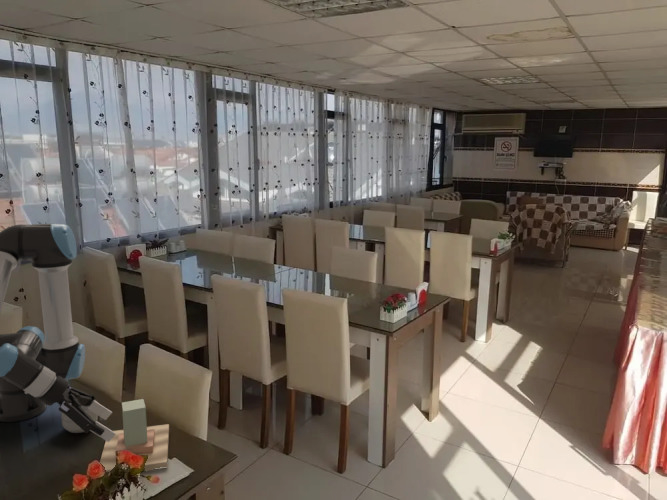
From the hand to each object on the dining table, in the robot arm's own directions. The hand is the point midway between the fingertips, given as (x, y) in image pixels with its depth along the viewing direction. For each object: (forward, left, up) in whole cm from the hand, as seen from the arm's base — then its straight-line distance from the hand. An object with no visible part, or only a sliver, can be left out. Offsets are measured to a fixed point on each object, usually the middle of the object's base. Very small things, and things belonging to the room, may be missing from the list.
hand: (110, 426), depth 148 cm
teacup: (-19, -12, -10) cm, 25 cm away
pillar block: (-1, +6, -6) cm, 9 cm away
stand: (-1, +6, -10) cm, 12 cm away
